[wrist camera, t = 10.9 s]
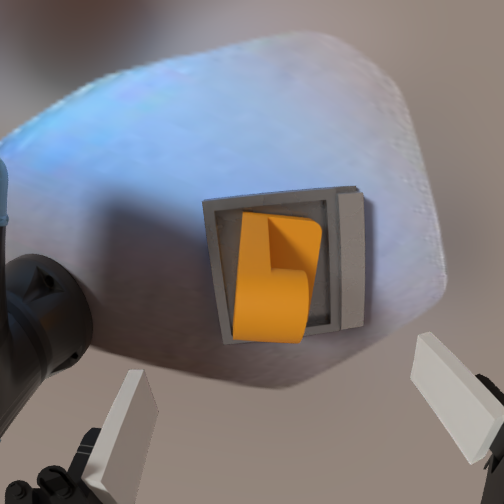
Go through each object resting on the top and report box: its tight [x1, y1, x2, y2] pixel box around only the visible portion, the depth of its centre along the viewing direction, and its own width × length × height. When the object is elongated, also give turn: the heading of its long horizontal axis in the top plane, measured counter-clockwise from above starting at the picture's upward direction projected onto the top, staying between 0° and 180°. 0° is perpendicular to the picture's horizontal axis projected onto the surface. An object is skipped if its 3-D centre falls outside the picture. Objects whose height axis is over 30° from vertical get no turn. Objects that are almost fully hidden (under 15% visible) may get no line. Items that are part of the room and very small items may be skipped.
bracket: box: [233, 212, 322, 343], centre depth 26 cm, size 11×7×12 cm, turn 174°
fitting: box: [202, 186, 365, 345], centre depth 31 cm, size 15×15×2 cm
